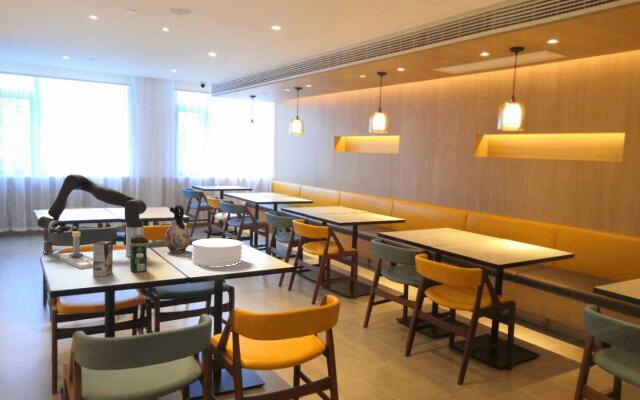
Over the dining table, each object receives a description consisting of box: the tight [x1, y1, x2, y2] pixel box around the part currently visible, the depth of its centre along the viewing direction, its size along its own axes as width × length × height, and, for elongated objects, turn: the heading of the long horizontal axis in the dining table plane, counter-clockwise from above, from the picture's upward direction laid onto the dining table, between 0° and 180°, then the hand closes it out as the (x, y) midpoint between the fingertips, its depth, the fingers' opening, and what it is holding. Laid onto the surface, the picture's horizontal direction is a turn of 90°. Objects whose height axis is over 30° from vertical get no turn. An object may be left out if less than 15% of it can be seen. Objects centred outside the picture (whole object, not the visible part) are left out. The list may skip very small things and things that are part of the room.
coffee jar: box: [129, 234, 148, 273], centre depth 245 cm, size 10×8×19 cm
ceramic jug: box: [164, 204, 191, 254], centre depth 294 cm, size 17×15×30 cm
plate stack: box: [191, 237, 243, 267], centre depth 273 cm, size 28×28×12 cm
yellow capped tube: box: [68, 230, 84, 258], centre depth 260 cm, size 4×6×14 cm
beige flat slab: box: [59, 254, 93, 270], centre depth 256 cm, size 28×11×2 cm, turn 48°
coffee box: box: [92, 240, 114, 277], centre depth 234 cm, size 9×6×16 cm
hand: (68, 231), depth 267 cm, fingers open, 8 cm apart
